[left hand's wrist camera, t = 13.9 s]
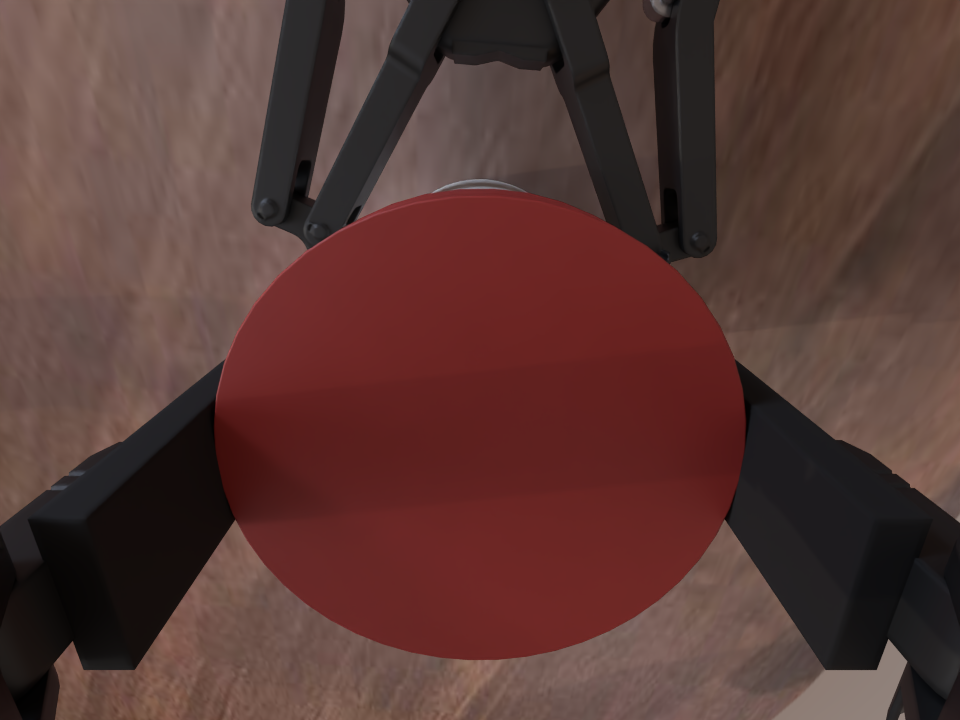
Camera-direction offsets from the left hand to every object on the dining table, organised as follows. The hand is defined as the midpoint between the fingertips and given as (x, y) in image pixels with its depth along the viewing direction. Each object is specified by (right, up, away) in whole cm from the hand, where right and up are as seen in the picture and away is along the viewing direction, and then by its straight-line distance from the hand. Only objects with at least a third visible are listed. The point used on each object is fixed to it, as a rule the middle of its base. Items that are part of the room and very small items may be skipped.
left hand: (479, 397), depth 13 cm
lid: (0, -1, -3) cm, 3 cm away
